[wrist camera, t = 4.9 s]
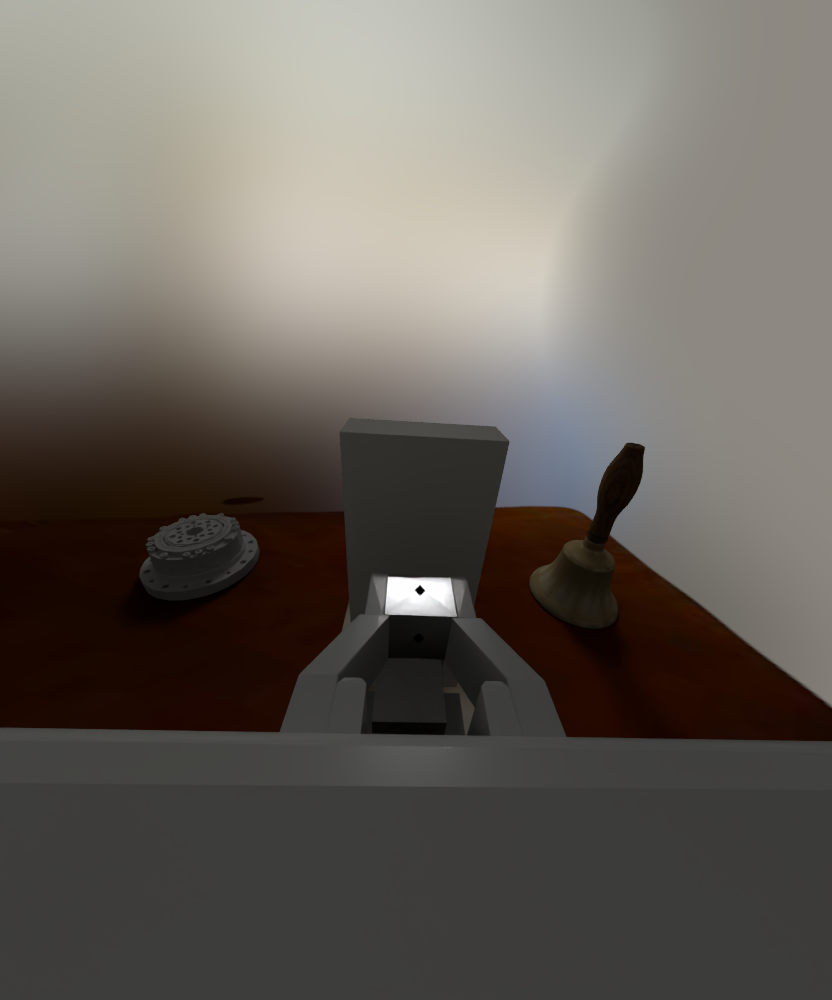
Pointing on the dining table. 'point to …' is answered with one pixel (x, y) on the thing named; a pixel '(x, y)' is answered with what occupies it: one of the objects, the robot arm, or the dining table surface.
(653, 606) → the dining table surface
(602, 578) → the hand bell
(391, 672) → the grey clamp fixture
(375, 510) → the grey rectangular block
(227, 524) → the mechanical component
